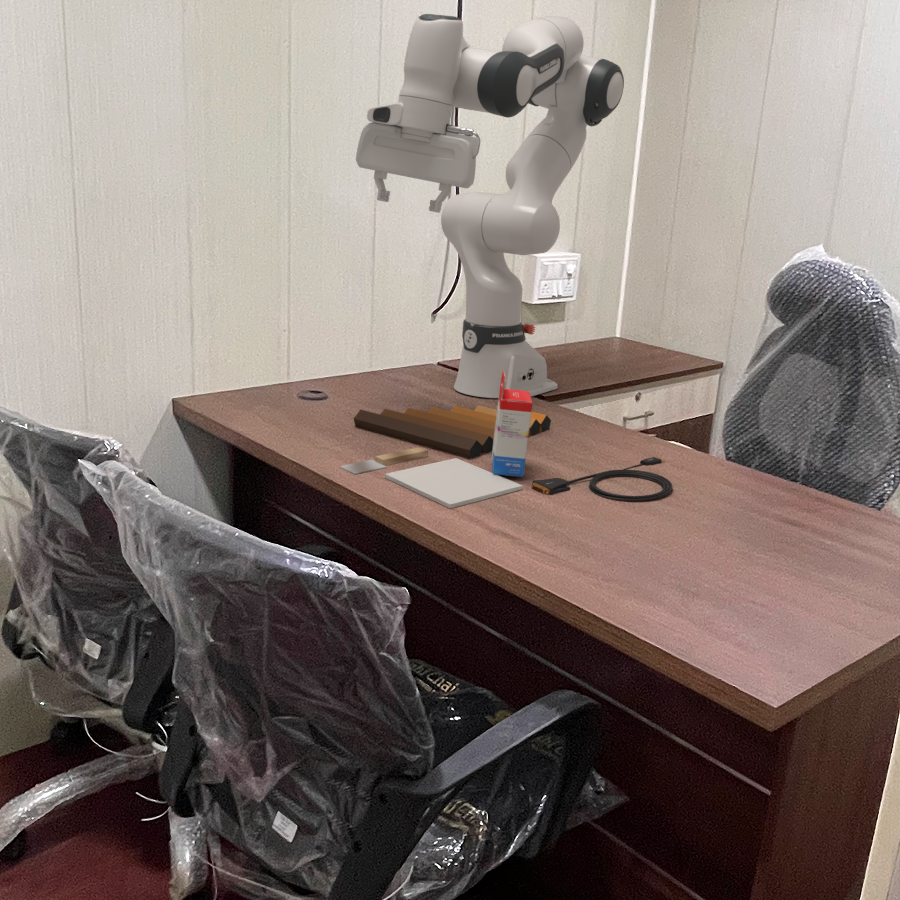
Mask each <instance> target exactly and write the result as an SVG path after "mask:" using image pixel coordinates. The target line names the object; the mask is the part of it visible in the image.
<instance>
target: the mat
mask: <svg viewBox="0 0 900 900" xmlns="http://www.w3.org/2000/svg"><path fill="white" fill-rule="evenodd" d="M384 478H385V479H387V480H389V481H391V482H393V483H395V484H398V485H400V486H402V487H404V488H406V489H407V490H410V491H412V492H414V493H416V494H418V495H421V496H423V497H425V498H427V499H429V500H431V501H433V502H435V503H436V504H437V503H438V504H440V505H442V506H443V507H446V508H448V509H453V508H457V507H461V506H464V505H465V506H466V505H468V504H469V505H470V504H472V503H476V502H480V501H484V500H487V499H492V498H495V497H498V496H502V495H505V494H506V495H507V494H511V493H514V492H517V491H522V490H523V484H519V483H518V482H515V481H513V480H510V479H508V478H506V477H503V476H502V475H501V476H500V475H497V474H493V472H492V471H488V470H486V469H484V468H481V467H478V466H476V465H474V464H472V463H469V462H467V461H464V460H461V459H459V458H456V457H455V458H451V459H445V460H441V461H437V462H433V463H427V464H424V465H419V466H414V467H409V468H404V469H402V470H396V471H392V472H386V473H384Z"/></svg>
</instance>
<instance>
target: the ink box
mask: <svg viewBox="0 0 900 900" xmlns="http://www.w3.org/2000/svg"><path fill="white" fill-rule="evenodd" d="M505 383H506V378H505V373H504V370H503V372H502V377H501V384H500V391H499V398H498V400H497V408H496V409H497V416H496V424H495V432H494V440H493V449H492V451H491V468H492V473H493V474H496V475H498V476H500V475H501V476H508V477H509V476H510V477H521V478H523V477H524V475H525V468H526V459H527V449H528V441H529V436H528V434H529V426H530V418H531V412H533V411H532V410H533V400H532V396H530V393H529V392H527V391H522V390H513V389H505Z"/></svg>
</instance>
